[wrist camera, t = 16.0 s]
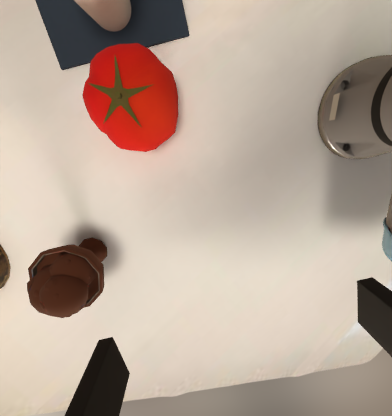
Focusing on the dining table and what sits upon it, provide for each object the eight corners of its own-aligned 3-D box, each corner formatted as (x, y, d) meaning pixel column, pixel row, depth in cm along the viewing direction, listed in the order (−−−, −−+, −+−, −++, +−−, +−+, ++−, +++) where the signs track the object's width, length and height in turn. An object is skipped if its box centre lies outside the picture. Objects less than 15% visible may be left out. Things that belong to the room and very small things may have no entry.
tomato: (93, 67, 32) (49, 31, 22) (172, 56, 32) (165, 15, 22) (114, 156, 36) (85, 160, 26) (185, 146, 36) (184, 146, 26)
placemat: (169, -59, 28) (169, -62, 28) (189, 36, 31) (189, 34, 31) (29, -20, 29) (27, -22, 28) (62, 70, 32) (61, 69, 31)
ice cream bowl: (96, 214, 39) (43, 254, 24) (132, 259, 42) (103, 319, 27) (52, 241, 40) (-25, 295, 25) (89, 283, 43) (40, 353, 28)
